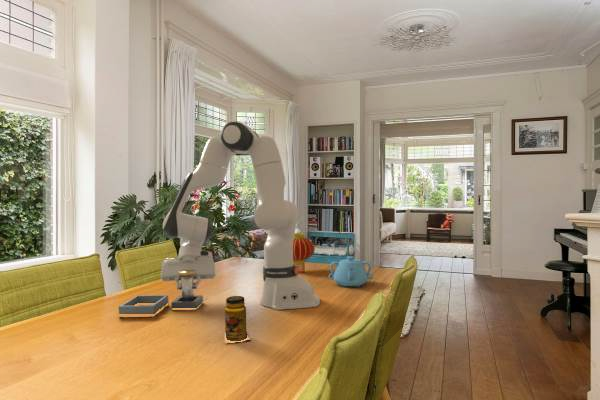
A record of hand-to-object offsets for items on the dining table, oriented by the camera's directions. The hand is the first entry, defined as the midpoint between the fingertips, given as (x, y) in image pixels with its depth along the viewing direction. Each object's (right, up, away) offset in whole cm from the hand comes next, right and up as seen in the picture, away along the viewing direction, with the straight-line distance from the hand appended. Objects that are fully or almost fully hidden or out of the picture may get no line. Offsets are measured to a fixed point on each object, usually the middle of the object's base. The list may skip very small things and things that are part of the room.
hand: (187, 288), depth 143 cm
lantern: (+41, -5, +59) cm, 72 cm away
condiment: (+23, -8, -31) cm, 39 cm away
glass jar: (0, -7, +1) cm, 7 cm away
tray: (-14, -7, -4) cm, 16 cm away
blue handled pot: (+65, -5, +28) cm, 71 cm away
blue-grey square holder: (0, -7, +1) cm, 7 cm away
